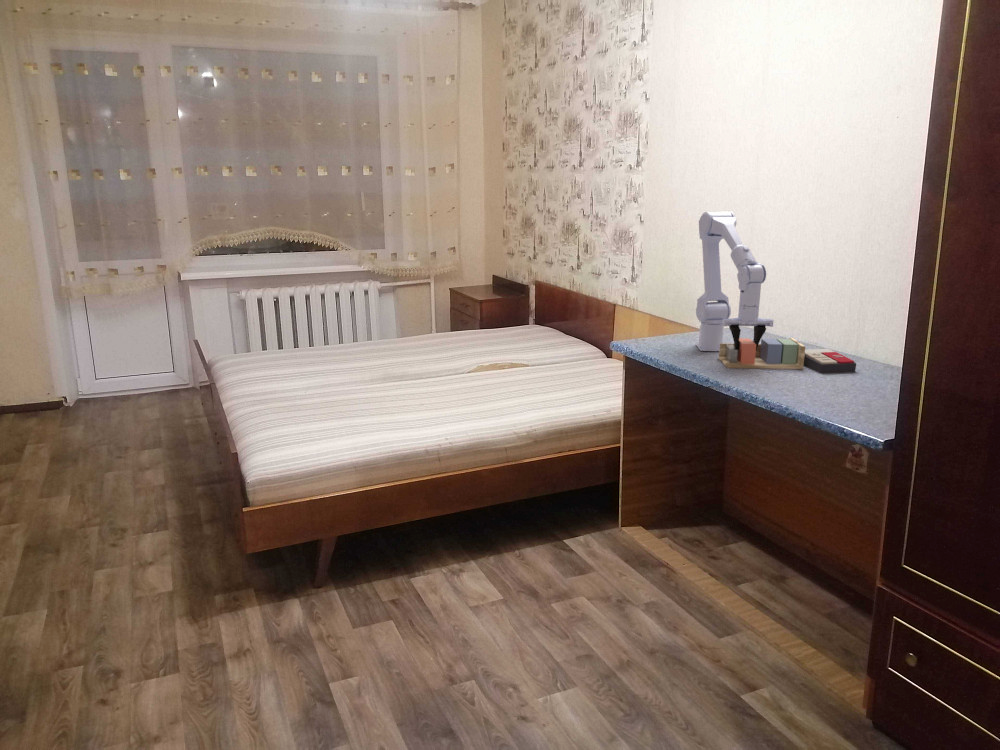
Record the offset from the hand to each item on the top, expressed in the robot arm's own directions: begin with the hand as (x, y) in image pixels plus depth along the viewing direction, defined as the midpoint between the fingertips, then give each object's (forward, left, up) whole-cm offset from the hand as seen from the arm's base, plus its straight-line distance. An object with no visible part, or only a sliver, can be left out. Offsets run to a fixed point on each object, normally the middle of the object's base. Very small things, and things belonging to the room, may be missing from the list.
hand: (745, 349), depth 228 cm
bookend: (0, -4, -3) cm, 5 cm away
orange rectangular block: (0, 0, -3) cm, 3 cm away
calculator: (+3, +23, -5) cm, 23 cm away
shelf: (0, +4, -4) cm, 6 cm away
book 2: (0, +7, -3) cm, 8 cm away
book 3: (0, +12, -3) cm, 12 cm away
